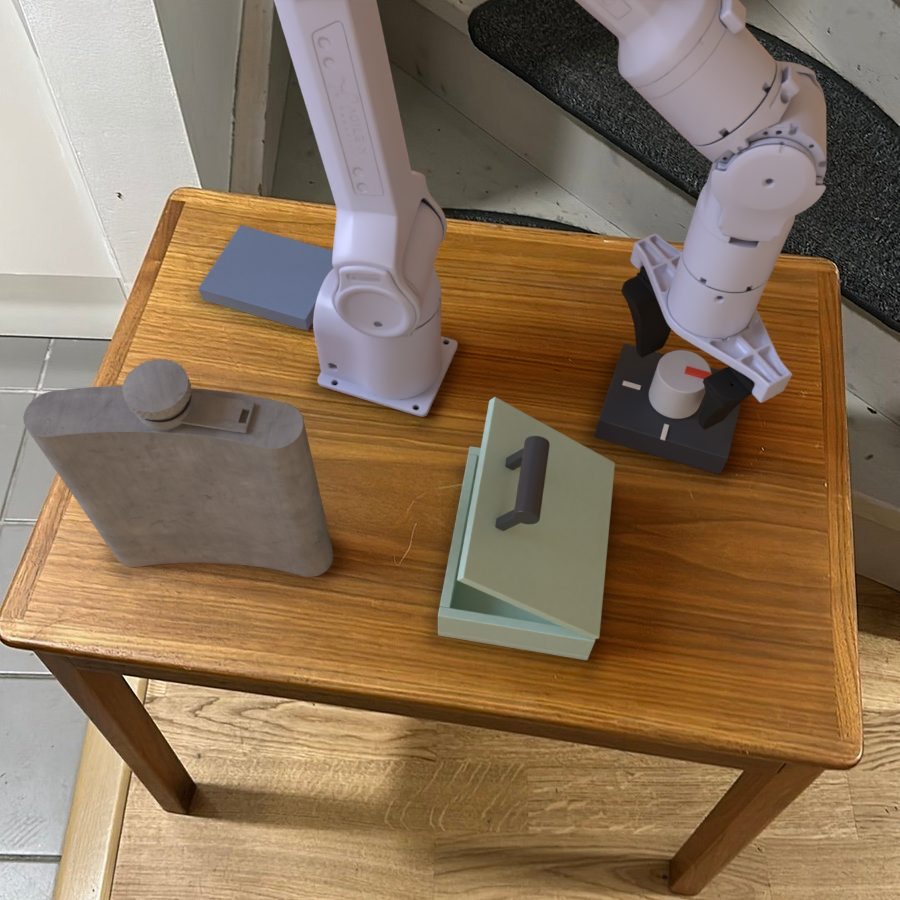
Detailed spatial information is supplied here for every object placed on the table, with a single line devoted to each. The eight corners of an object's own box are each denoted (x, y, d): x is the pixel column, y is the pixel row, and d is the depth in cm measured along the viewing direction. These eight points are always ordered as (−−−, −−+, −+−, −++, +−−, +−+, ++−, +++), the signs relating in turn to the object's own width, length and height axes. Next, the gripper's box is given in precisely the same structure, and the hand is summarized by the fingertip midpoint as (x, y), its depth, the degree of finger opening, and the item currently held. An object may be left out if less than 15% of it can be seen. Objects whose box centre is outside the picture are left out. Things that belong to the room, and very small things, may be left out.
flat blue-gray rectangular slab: (201, 300, 80) (197, 288, 78) (243, 236, 84) (240, 224, 82) (307, 331, 78) (305, 319, 77) (345, 265, 82) (343, 253, 81)
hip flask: (110, 566, 66) (-3, 410, 49) (123, 516, 69) (20, 349, 52) (330, 578, 66) (293, 425, 49) (337, 527, 68) (304, 364, 51)
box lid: (456, 580, 55) (498, 561, 52) (488, 400, 62) (528, 373, 59) (592, 640, 60) (639, 626, 57) (608, 466, 67) (651, 444, 64)
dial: (643, 410, 71) (652, 381, 68) (654, 371, 73) (665, 341, 70) (694, 425, 70) (706, 396, 67) (704, 385, 72) (717, 355, 69)
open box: (437, 635, 64) (437, 615, 61) (468, 471, 71) (469, 445, 68) (587, 660, 63) (595, 641, 60) (603, 492, 70) (611, 467, 67)
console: (593, 438, 73) (598, 419, 70) (619, 360, 77) (624, 340, 74) (719, 476, 71) (728, 458, 69) (738, 394, 75) (748, 374, 73)
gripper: (853, 311, 56) (783, 432, 68) (704, 169, 63) (663, 301, 75) (765, 357, 55) (708, 473, 66) (620, 205, 61) (592, 335, 73)
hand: (679, 384), depth 70 cm, fingers open, 7 cm apart
